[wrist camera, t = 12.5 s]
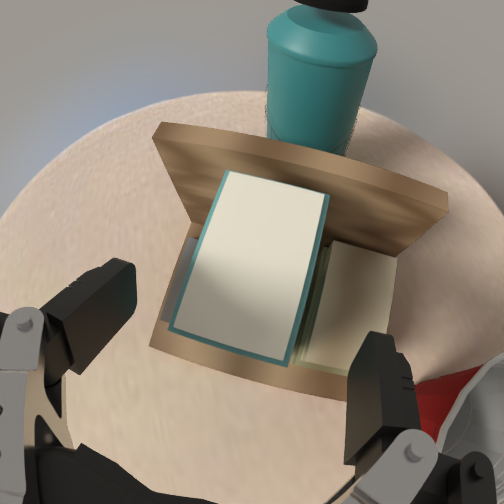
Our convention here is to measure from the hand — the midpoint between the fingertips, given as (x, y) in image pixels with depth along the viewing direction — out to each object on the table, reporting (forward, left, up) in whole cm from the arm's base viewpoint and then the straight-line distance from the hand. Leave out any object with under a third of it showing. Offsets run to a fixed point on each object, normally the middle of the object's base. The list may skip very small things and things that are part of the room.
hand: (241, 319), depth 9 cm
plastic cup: (-15, +6, -14) cm, 22 cm away
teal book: (0, -2, -13) cm, 13 cm away
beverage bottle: (-3, -15, -14) cm, 21 cm away
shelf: (-1, -3, -14) cm, 14 cm away
